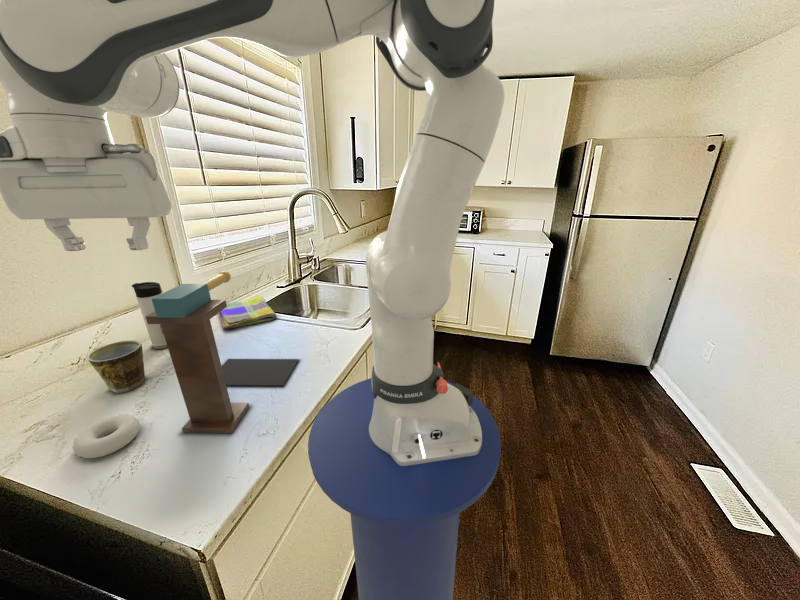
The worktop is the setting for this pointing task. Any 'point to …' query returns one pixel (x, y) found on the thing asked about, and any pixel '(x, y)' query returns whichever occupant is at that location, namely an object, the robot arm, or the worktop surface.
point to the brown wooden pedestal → (200, 370)
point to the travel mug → (150, 310)
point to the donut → (96, 446)
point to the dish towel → (246, 313)
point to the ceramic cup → (120, 365)
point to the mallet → (187, 297)
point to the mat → (258, 371)
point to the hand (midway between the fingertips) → (108, 250)
